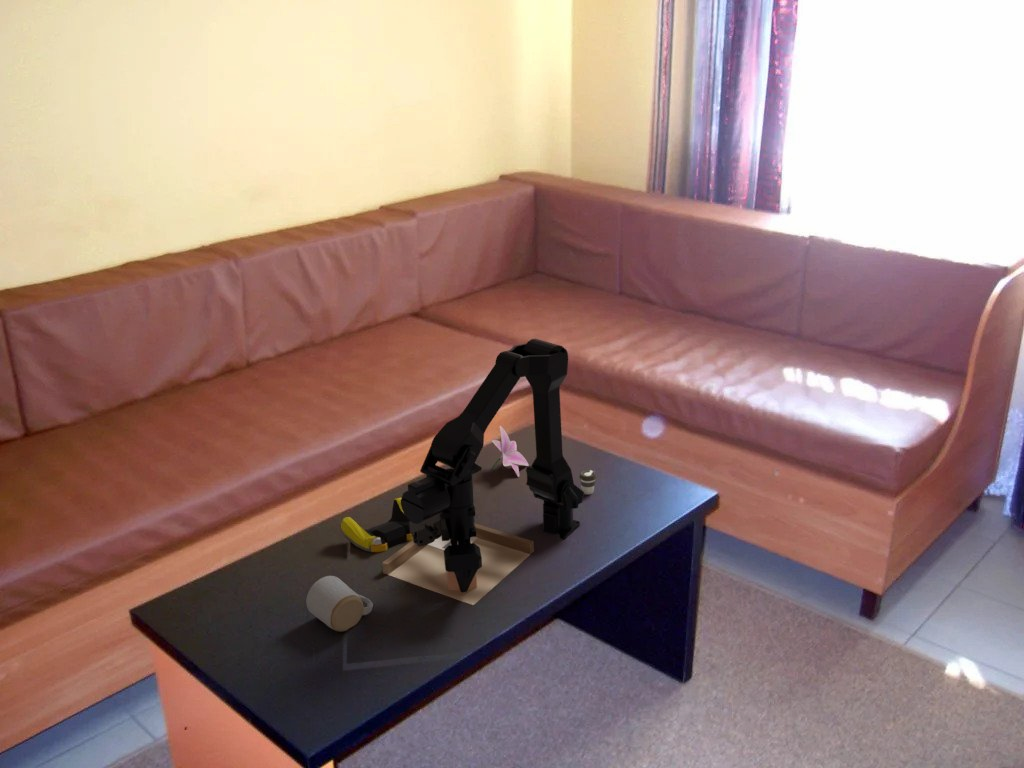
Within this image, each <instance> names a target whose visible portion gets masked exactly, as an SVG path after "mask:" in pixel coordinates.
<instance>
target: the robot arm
mask: <svg viewBox="0 0 1024 768" xmlns="http://www.w3.org/2000/svg"><path fill="white" fill-rule="evenodd" d="M568 365H569V354H568V350H567V349H566V348H565V347H564V346H562V345H561V344H556V343H552V342H549V341H545V340H542V339H540V338H539V339H538V338H531V339H530V340H528V341H527V342H526V343H522V344H517V345H513V346H512V347H511V348H510V349H509V350H503V351H501V352H500V353H498V354H497V356H496V359H495V364H494V366H493V367H492V368H491V370H490V371H489V373H488V374H487V376H486V377H485V379H484V380H483V381H482V383H481V385H480V386H479V387H478V389H477V391H476V392H475V393H474V395H473V397H472V398H471V399H470V401H469V402H468V403H467V405H466V406H465V408H464V409H463V411H462V412H461V413H460V414H459V416H457V417H454V418H453V419H451V420H449V421H448V422H446V423H445V424H444V426H442V428H441V429H440V430H439V431H438V432H437V433H436V434H435V436H434V437H433V439H432V441H431V444H430V447H429V450H428V452H427V453H426V457H425V458H424V461H423V462H422V466H421V468H420V473H422V474H423V475H426V476H425V477H424V478H421V479H418V480H417V481H412V482H411V483H409V484H407V491H405V492H403V493H402V495H401V498H402V499H401V507H402V510H403V512H404V514H405V516H406V517H407V518H408V519H409V520H410V522H409V526H410V533H411V535H412V537H413V539H412V540H413V541H414V543H415V544H417V546H418V547H421V546H425V545H427V544H430V543H432V542H434V541H435V539H438V538H439V537H441V535H442V541H449V539H450V542H451V545H449V546H448V547H447V548H446V549H445V550H444V562H445V570H446V571H448V572H454V573H455V576H456V579H457V582H458V585H459V588H460V591H461V592H467V590H468V588H469V586H470V584H471V582H472V580H473V578H474V576H475V574H476V572H477V570H478V569H480V568H481V567H482V557H481V552H480V547H479V546H477V545H476V544H475V543H471V542H470V538H471V537H476V528H475V524H476V521H475V519H476V518H475V516H476V508H475V501H474V481H473V479H474V478H473V477H474V476H473V475H476V474H477V473H478V472H481V471H482V470H483V467H482V466H481V465H479V464H477V463H476V461H477V460H478V457H479V455H480V453H481V452H482V450H483V447H484V442H485V432H486V431H487V429H488V428H489V425H490V424H491V423H492V421H493V419H494V418H495V416H496V415H497V413H498V412H499V410H500V409H501V407H502V406H503V404H504V403H505V401H506V400H507V399H508V397H509V395H510V394H511V392H512V391H513V389H514V388H515V386H516V384H517V383H518V382H519V380H520V379H521V378H523V377H525V379H526V380H527V382H528V384H529V385H530V387H531V390H532V401H533V417H534V418H533V421H534V434H535V435H534V436H535V451H536V453H535V455H536V456H535V459H534V460H533V462H532V463H531V465H528V466H526V469H525V472H526V478H527V479H526V483H525V485H526V486H528V488H529V491H531V492H532V494H533V497H534V498H536V499H538V500H541V501H543V504H542V530H543V532H545V533H549V534H552V535H556V534H558V536H559V538H560V539H566V538H567V537H568V536H570V535H571V533H572V532H574V531H575V530H576V529H577V528H578V527H579V526H581V522H580V521H579V520H575V519H574V510H575V509H578V508H579V505H580V504H582V503H583V499H584V495H585V494H584V492H583V491H582V489H581V488H580V487H578V486H577V485H576V484H574V476H573V472H572V468H571V466H570V465H569V463H568V462H567V460H566V459H565V456H564V455H563V437H562V417H561V416H562V415H561V397H560V396H561V394H560V393H561V391H560V387H561V385H562V384H563V382H564V380H565V379H566V377H567V375H568ZM437 463H440V464H443V465H445V466H448V468H444V467H441V466H439V465H438V464H437ZM436 464H437V465H436Z"/></svg>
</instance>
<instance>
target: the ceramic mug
mask: <svg viewBox="0 0 1024 768" xmlns="http://www.w3.org/2000/svg"><path fill="white" fill-rule="evenodd" d="M305 602H306V604H305V605H306V607H307V609H308V612H309V613H311V614H312V615H313V616H314V617H316V619H317V620H318V619H319V621H321V622H322V623H324V624H325V626H326V627H328V628H330V629H332V630H334V631H336V632H338V633H339V632H341V633H342V632H347V631H349V629H350V628H352V627H354V626H356V625H357V624H358V623H359V621H360V620H361V618H362V616H366V615H369V614H370V613H371V612H372V611H373V606H374V604H373V602H372V601H371V600H370V598H367V597H365V596H363V595H361V594H358V593H357V592H355V591H354V590H353V589H352V588H351V587H350V586H349V585H347V584H346V583H345V582H344V581H343V580H341V579H340V578H339V577H337V576H336V575H326V576H323V577H321V578H319V579H318V580H316V582H314V583H313V584H312V585H311V587H310V588H309V590H308V592H307V595H306V601H305ZM364 603H365V604H366V606H364Z"/></svg>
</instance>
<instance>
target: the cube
mask: <svg viewBox="0 0 1024 768" xmlns="http://www.w3.org/2000/svg"><path fill="white" fill-rule="evenodd" d="M447 581H448V588H449V590H458V589H460V588H459V585H458V582H457V579H456V576H455V573H454V572H448V571H447ZM469 588H477V579H476V574H475V576H474V578H473V580H472V582H471V584H470V586H469Z"/></svg>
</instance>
